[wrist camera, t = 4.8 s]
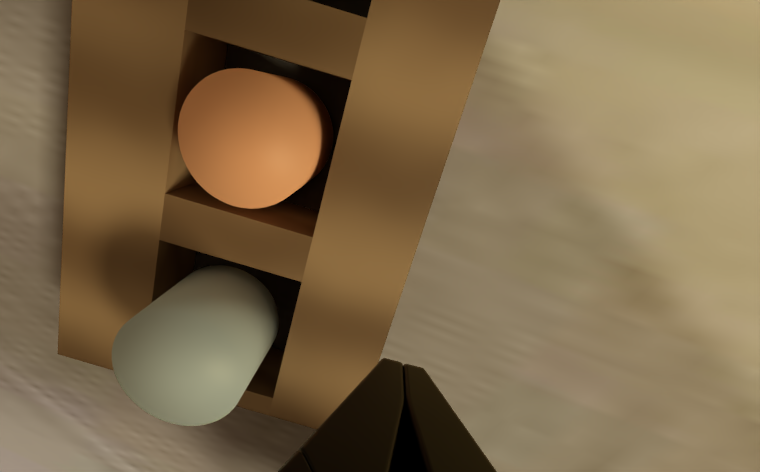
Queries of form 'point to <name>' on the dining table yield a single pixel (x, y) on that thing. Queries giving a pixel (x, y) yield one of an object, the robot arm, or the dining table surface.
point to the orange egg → (253, 136)
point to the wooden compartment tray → (276, 222)
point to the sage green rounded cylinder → (196, 346)
